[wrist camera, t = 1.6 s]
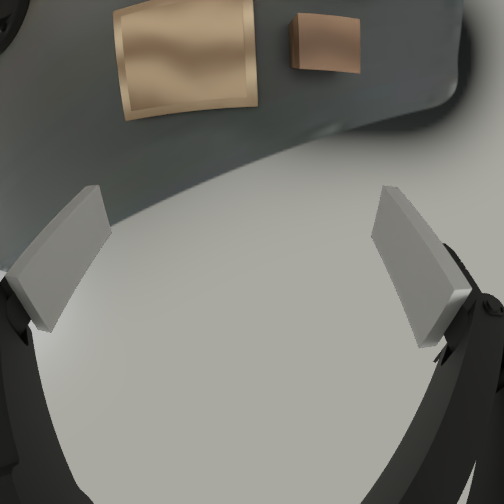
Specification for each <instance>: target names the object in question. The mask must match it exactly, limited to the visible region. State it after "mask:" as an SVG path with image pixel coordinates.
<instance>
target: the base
mask: <svg viewBox="0 0 504 504" xmlns="http://www.w3.org/2000/svg"><path fill="white" fill-rule="evenodd" d="M113 22H114V36H115V47H116V57H117V66H118V75H119V82H120V90H121V97H122V103H123V110H124V116H125V121H129V120H134V119H140V118H146V117H152V116H158V115H165V114H172V113H179V112H188V111H197V110H207V109H219V108H233V107H255V106H258V88H257V66H256V45H255V25H254V7H253V0H151V1H147V2H143V3H140V4H136V5H133V6H129V7H126V8H123V9H119V10H116V11H113Z"/></svg>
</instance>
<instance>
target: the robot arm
mask: <svg viewBox="0 0 504 504" xmlns="http://www.w3.org/2000/svg"><path fill="white" fill-rule="evenodd" d="M28 3H29V0H0V53H2V52H3V51H4V50H5V49H6V48H7V46H8V45H9V44H10V42H11V41H12V40H13V38H14V37H15V35H16V33H17V31H18V30H19V28H20V26H21V23H22V21H23V19H24V16H25V13H26V10H27V7H28ZM111 233H112V232H111V228H110V225H109V222H108V218H107V214H106V211H105V207H104V203H103V199H102V195H101V191H100V187H99V185H90V186H86V187H85V188H84V189H83V190H82V191H80V192H79V193H78V194H77V195H76V196H75V197H74V198H73V199H72V200H71V201H70V202H69V203H68V204H67V205H66V206H65V207H64V208H63V209H62V210H61V211H60V212H59V213H58V214H57V215H56V216H55V217H54V218H53V219H52V220H51V222H50V223H49V224H48V225H47V226H46V227H45V228H44V229H43V230H42V231H41V232H40V234H39V235H38V236H37V237H36V238H35V239H34V240H33V241H32V243H31V244H30V245H29V246H28V247H27V248H26V250H25V251H24V252H23V253H22V254H21V256H20V257H19V258H18V259H17V261H16V262H15V263H14V264H13V266H12V267H11V268H10V270H9V271H8V272H7V273H6V275H5V276H4V278H3V279H2V280H1V282H0V504H94V503H93V502H92V501H91V500H90V498H89V497H88V496H87V495H86V494H85V493H84V492H83V491H82V490H80V489H79V487H78V486H77V484H76V482H75V480H74V478H73V476H72V473H71V471H70V469H69V466H68V464H67V462H66V459H65V457H64V454H63V452H62V449H61V447H60V444H59V441H58V439H57V435H56V433H55V430H54V427H53V424H52V420H51V417H50V414H49V411H48V407H47V404H46V400H45V396H44V392H43V389H42V385H41V380H40V376H39V371H38V367H37V361H36V356H35V350H34V344H33V338H32V332H31V329H30V328H29V326H28V324H29V322H30V320H32V321H33V323H34V324H35V326H36V327H37V329H38V330H42V331H46V332H50V333H51V332H52V330H53V328H54V326H55V325H56V323H57V321H58V319H59V317H60V315H61V313H62V312H63V310H64V308H65V306H66V305H67V303H68V301H69V299H70V297H71V296H72V294H73V292H74V291H75V289H76V287H77V286H78V284H79V282H80V281H81V279H82V277H83V276H84V274H85V272H86V271H87V269H88V268H89V266H90V264H91V263H92V261H93V260H94V258H95V257H96V255H97V254H98V252H99V251H100V249H101V248H102V246H103V245H104V243H105V242H106V240H107V238H108V237H109V236H110V234H111ZM371 237H372V239H373V241H374V243H375V245H376V247H377V249H378V251H379V254H380V256H381V258H382V260H383V262H384V264H385V266H386V269H387V270H388V273H389V275H390V277H391V280H392V282H393V284H394V286H395V288H396V291H397V293H398V296H399V298H400V300H401V303H402V305H403V307H404V310H405V312H406V315H407V318H408V320H409V323H410V325H411V328H412V331H413V333H414V336H415V339H416V341H417V344H418V347H419V348H424V347H431V346H436V345H437V344H438V342H439V341H440V339H441V338H442V336H443V335H444V336H445V338H446V341H447V344H446V345H445V346H444V348H443V349H442V350H441V352H440V353H439V354H438V356H437V357H436V358H435V360H434V362H435V363H436V362H437V361H438V359H439V361H438V364H437V366H436V369H435V371H434V374H433V376H432V379H431V381H430V384H429V386H428V389H427V391H426V393H425V395H424V398H423V400H422V402H421V404H420V406H419V408H418V410H417V412H416V414H415V416H414V418H413V420H412V422H411V424H410V426H409V428H408V430H407V432H406V434H405V436H404V437H403V439H402V441H401V443H400V445H399V446H398V448H397V450H396V451H395V453H394V455H393V456H392V458H391V460H390V461H389V463H388V465H387V466H386V468H385V469H384V471H383V472H382V474H381V476H380V477H379V479H378V480H377V481H376V483H375V484H374V486H373V487H372V489H371V490H370V491H369V493H368V494H367V495H366V497H365V498H364V500H363V501H362V502H361V504H457V502H458V500H459V498H460V496H461V494H462V492H463V490H464V488H465V486H466V483H467V481H468V479H469V476H470V474H471V472H472V469H473V466H474V464H475V461H476V465H475V470H474V475H473V480H472V484H471V488H470V492H469V496H468V499H467V503H466V504H504V307H503V305H502V304H501V302H500V301H499V300H498V299H497V298H495V297H494V296H492V295H490V294H487V293H482V292H481V291H480V289H479V287H478V286H477V284H476V283H475V281H474V280H473V278H472V276H471V275H470V274H469V272H468V270H466V269H465V266H464V264H463V263H462V262H461V260H460V259H459V257H458V256H457V255H456V253H455V252H454V251H453V250H452V249H451V248H450V247H449V246H447V245H446V244H444V243H442V242H441V241H440V240H439V238H438V237H437V236H436V234H435V233H434V232H433V230H432V229H431V228H430V226H429V225H428V224H427V222H426V221H425V220H424V219H423V217H422V216H421V215H420V213H419V212H418V211H417V210H416V209H415V207H414V206H413V205H412V204H411V202H410V201H409V200H408V199H407V198H406V197H405V195H404V194H403V193H402V192H401V191H400V189H399V188H398V187H391V186H383V188H382V193H381V197H380V202H379V206H378V210H377V215H376V219H375V223H374V227H373V231H372V235H371Z"/></svg>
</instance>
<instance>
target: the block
mask: <svg viewBox="0 0 504 504" xmlns="http://www.w3.org/2000/svg"><path fill="white" fill-rule="evenodd" d="M289 44H290V67H292V68H297V69H313V70H329V71H341V72H351V73H359V74H360V19H355V18H348V17H341V16H332V15H322V14H309V13H298V14H297V15H296V16H295V17H294V19H293V20H292V21H291V22H290V24H289Z"/></svg>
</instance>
